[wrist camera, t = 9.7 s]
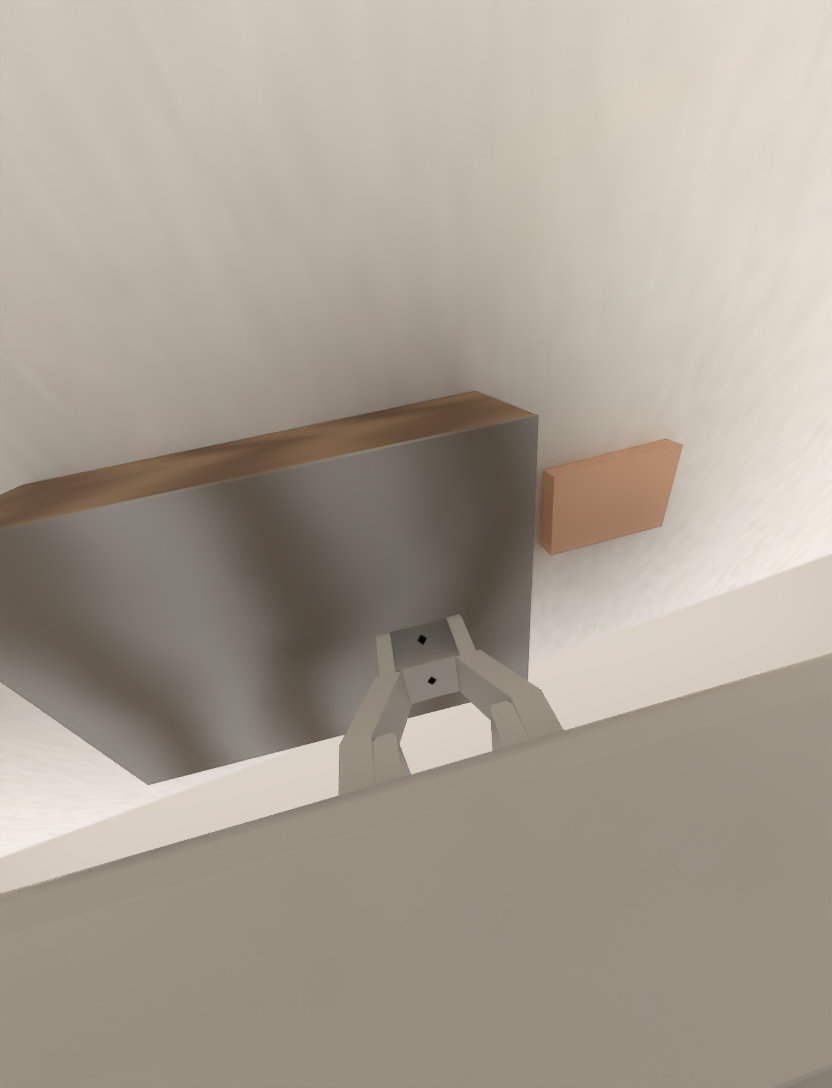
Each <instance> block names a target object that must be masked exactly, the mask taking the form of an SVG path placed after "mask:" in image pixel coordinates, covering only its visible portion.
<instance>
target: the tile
mask: <svg viewBox="0 0 832 1088" xmlns="http://www.w3.org/2000/svg"><path fill="white" fill-rule="evenodd" d="M682 446H683V444H680V443H677V442H673V441H670V440H667V439H663V440H660V441H656V442H652V443H648V444H644V445H640V446H636V447H632V448H628V449H624V450H620V451H616V452H612V453H608V454H604V455H600V456H596V457H592V458H588V459H584V460H580V461H576V462H572V463H568V464H565V465H561V466H557V467H553V468H549V469H545V470H543V505H542V546H543V547H544V548H545V550H546V551H547V552H548V553H549V554H550V555H554V554H558V553H562V552H566V551H569V550H573V549H577V548H581V547H584V546H588V545H592V544H596V543H600V542H603V541H607V540H611V539H615V538H618V537H622V536H626V535H630V534H634V533H637V532H641V531H645V530H649V529H652V528H656V527H660V526H662V523H663V519H664V515H665V511H666V507H667V503H668V500H669V496H670V492H671V488H672V484H673V480H674V476H675V473H676V469H677V465H678V461H679V457H680V453H681V449H682Z"/></svg>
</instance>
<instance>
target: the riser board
mask: <svg viewBox="0 0 832 1088" xmlns="http://www.w3.org/2000/svg"><path fill="white" fill-rule="evenodd" d="M537 439H538V415H535V414H533V413H530V412H527V411H525V410H522V409H520V408H517V407H515V406H512V405H510V404H507V403H505V402H502V401H500V400H497V399H495V398H492V397H489V396H487V395H484V394H482V393H479V392H477V391H473V392H469V393H464V394H459V395H454V396H449V397H444V398H440V399H435V400H430V401H425V402H420V403H416V404H411V405H406V406H401V407H396V408H391V409H387V410H382V411H377V412H372V413H367V414H363V415H358V416H353V417H348V418H343V419H338V420H334V421H329V422H324V423H319V424H314V425H310V426H305V427H300V428H295V429H290V430H285V431H281V432H276V433H271V434H266V435H261V436H256V437H252V438H247V439H242V440H237V441H232V442H228V443H223V444H218V445H213V446H208V447H203V448H199V449H194V450H189V451H184V452H179V453H175V454H170V455H165V456H160V457H155V458H150V459H146V460H141V461H136V462H131V463H126V464H122V465H117V466H112V467H107V468H102V469H97V470H93V471H88V472H83V473H78V474H73V475H69V476H64V477H59V478H54V479H49V480H44V481H40V482H35V483H30V484H25V485H22V486H19V487H17V488H15V489H12V490H10V491H8V492H5V493H3V494H1V495H0V682H2V683H3V684H4V685H6V686H7V687H9V688H10V689H12V690H13V691H14V692H16V693H17V694H19V695H20V696H22V697H23V698H24V699H26V700H27V701H29V702H30V703H32V704H33V705H34V706H36V707H37V708H39V709H40V710H42V711H43V712H44V713H46V714H47V715H49V716H50V717H52V718H53V719H54V720H56V721H57V722H59V723H60V724H62V725H63V726H64V727H66V728H67V729H69V730H70V731H72V732H73V733H74V734H76V735H77V736H79V737H80V738H82V739H83V740H84V741H86V742H87V743H89V744H90V745H92V746H93V747H94V748H96V749H97V750H99V751H100V752H102V753H103V754H104V755H106V756H107V757H109V758H110V759H111V760H113V761H114V762H116V763H117V764H119V765H120V766H121V767H123V768H124V769H126V770H127V771H129V772H130V773H131V774H133V775H134V776H136V777H137V778H139V779H140V780H141V781H143V782H144V783H146V784H147V785H150V784H154V783H158V782H162V781H166V780H170V779H174V778H178V777H182V776H185V775H189V774H193V773H197V772H201V771H205V770H209V769H213V768H216V767H220V766H224V765H228V764H232V763H236V762H240V761H244V760H248V759H251V758H255V757H259V756H263V755H267V754H271V753H275V752H279V751H283V750H286V749H290V748H294V747H298V746H302V745H306V744H310V743H314V742H317V741H321V740H325V739H329V738H333V737H336V736H341V735H345V734H346V732H347V730H348V728H349V726H350V724H351V722H352V721H353V719H354V717H355V715H356V713H357V711H358V709H359V707H360V705H361V703H362V702H363V700H364V698H365V696H366V694H367V692H368V690H369V688H370V686H371V684H372V683H373V681H374V679H375V678H376V677H379V670H378V660H377V650H376V640H375V639H376V635H380V634H384V633H389V632H392V631H396V630H401V629H405V628H409V627H413V626H418V625H420V624H424V623H428V622H431V621H435V620H439V619H442V618H447V617H450V616H454V615H458V614H460V615H461V616H462V619H463V621H464V623H465V626H466V628H467V631H468V633H469V635H470V638H471V640H472V642H473V645H474V647H475V649H476V651H477V650H482V651H483V652H485V653H486V654H488V655H489V656H491V657H492V658H494V659H495V660H497V661H498V662H500V663H501V664H503V665H504V666H506V667H507V668H509V669H510V670H512V671H513V672H515V673H516V674H518V675H519V676H521V677H522V678H524V679H525V680H527V681H528V662H529V638H530V613H531V588H532V563H533V538H534V513H535V488H536V464H537ZM469 702H471V701H469V700H468V699H467V698H466V697H465V696H464V695H463V694H462V693H461V692H460V691H458V692H454V693H450V694H446V695H442V696H438V697H434V698H431V699H427V700H424V701H421V702H418V703H414V704H411V705H412V707H411V710H410V713H409V716H408V718H410V717H415V716H418V715H422V714H426V713H430V712H434V711H438V710H442V709H445V708H450V707H453V706H457V705H461V704H465V703H469Z"/></svg>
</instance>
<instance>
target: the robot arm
mask: <svg viewBox="0 0 832 1088" xmlns="http://www.w3.org/2000/svg"><path fill="white" fill-rule="evenodd" d="M375 640H376V650H377V660H378V670H379V677H376V678H375V679H374V681H373V683H372V684H371V686H370V688H369V690H368V692H367V694H366V696H365V698H364V700H363V702H362V703H361V705H360V707H359V709H358V711H357V713H356V715H355V717H354V719H353V721H352V722H351V724H350V726H349V728H348V730H347V732H346V734H345V736H344V738H343V740H342V741H341V743H340V746H339V796H336V797H333V798H329V799H326V800H322V801H319V802H315V803H312V804H309V805H305V806H302V807H298V808H295V809H292V810H288V811H284V812H281V813H277V814H274V815H271V816H267V817H264V818H260V819H257V820H253V821H250V822H246V823H243V824H240V825H236V826H233V827H229V828H226V829H223V830H219V831H215V832H212V833H208V834H205V835H201V836H198V837H195V838H191V839H188V840H184V841H181V842H177V843H174V844H170V845H167V846H164V847H160V848H157V849H154V850H150V851H146V852H143V853H140V854H136V855H133V856H129V857H126V858H122V859H119V860H115V861H112V862H108V863H105V864H101V865H98V866H94V867H91V868H87V869H84V870H80V871H77V872H73V873H70V874H66V875H63V876H60V877H56V878H53V879H49V880H46V881H43V882H39V883H35V884H32V885H28V886H25V887H22V888H18V889H14V890H11V891H7V892H4V893H0V1088H832V653H830V654H826V655H823V656H820V657H816V658H813V659H809V660H806V661H802V662H799V663H795V664H792V665H789V666H785V667H782V668H778V669H775V670H771V671H768V672H764V673H761V674H758V675H754V676H751V677H747V678H744V679H740V680H737V681H734V682H730V683H726V684H723V685H719V686H716V687H713V688H710V689H706V690H702V691H699V692H695V693H692V694H689V695H685V696H682V697H678V698H675V699H671V700H668V701H665V702H661V703H657V704H654V705H651V706H647V707H644V708H640V709H637V710H633V711H630V712H626V713H623V714H619V715H617V716H613V717H609V718H606V719H602V720H599V721H595V722H592V723H588V724H585V725H582V726H578V727H575V728H571V729H568V730H563V728H562V726H561V725H560V723H559V721H558V719H557V718H556V716H555V714H554V712H553V710H552V709H551V707H550V705H549V703H548V701H547V700H546V698H545V696H544V694H543V693H542V691H541V689H539V688H537V687H536V686H534V685H533V684H531V683H530V682H528V681H527V680H525V679H524V678H522V677H521V676H519V675H518V674H516V673H515V672H513V671H512V670H510V669H509V668H507V667H506V666H504V665H503V664H501V663H500V662H498V661H497V660H495V659H494V658H492V657H491V656H489V655H488V654H486V653H485V652H483V651H482V650H477V651H476V649H475V647H474V645H473V642H472V640H471V638H470V635H469V633H468V631H467V628H466V626H465V623H464V621H463V619H462V616H461V615H460V614H458V615H454V616H450V617H447V618H442V619H439V620H435V621H431V622H428V623H424V624H420V625H418V626H413V627H409V628H405V629H401V630H396V631H392V632H389V633H384V634H380V635H376V639H375ZM458 691H460V692H461V693H462V694H463V695H464V696H465V697H466V698H467V699H468V700H469V701H471V702H472V703H473V704H474V705H475V706H476V707H477V708H478V709H479V710H480V711H481V712H482V713H483V714H484V715H486V716H487V717H488V718H489V719H490V720H491V731H492V747H493V751H492V752H488V753H485V754H481V755H478V756H474V757H471V758H467V759H464V760H460V761H457V762H453V763H450V764H447V765H443V766H440V767H436V768H433V769H429V770H426V771H422V772H419V773H415V774H413V775H411V773H410V770H409V768H408V765H407V762H406V760H405V757H404V755H403V752H402V749H401V747H400V744H399V743H400V740H401V737H402V734H403V731H404V728H405V725H406V722H407V719H408V716H409V713H410V710H411V707H412V705H411V704H414V703H418V702H421V701H424V700H427V699H431V698H434V697H438V696H442V695H446V694H450V693H454V692H458Z"/></svg>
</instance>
